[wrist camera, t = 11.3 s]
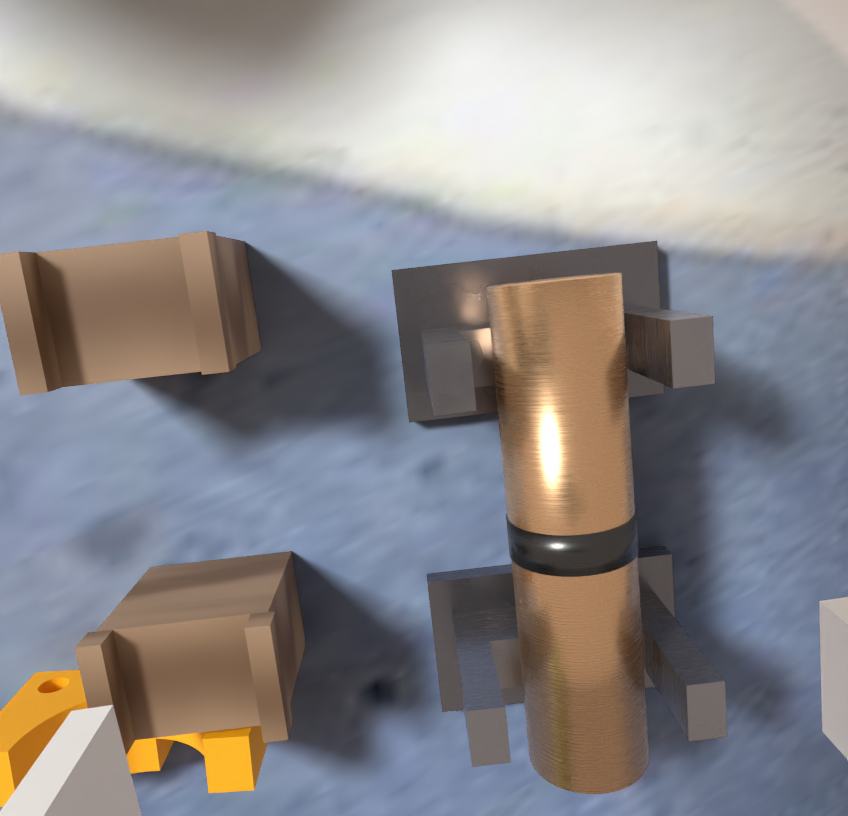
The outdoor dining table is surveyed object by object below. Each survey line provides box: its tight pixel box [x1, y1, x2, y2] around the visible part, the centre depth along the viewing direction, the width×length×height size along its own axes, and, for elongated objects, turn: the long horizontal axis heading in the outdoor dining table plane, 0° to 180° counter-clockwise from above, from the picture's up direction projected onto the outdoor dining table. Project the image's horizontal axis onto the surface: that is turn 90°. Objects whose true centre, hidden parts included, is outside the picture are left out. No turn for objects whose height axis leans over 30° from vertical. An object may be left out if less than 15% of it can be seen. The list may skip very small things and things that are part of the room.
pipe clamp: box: [0, 670, 268, 807], centre depth 34 cm, size 12×4×6 cm, turn 93°
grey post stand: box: [392, 241, 727, 767], centre depth 31 cm, size 22×12×9 cm, turn 6°
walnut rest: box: [0, 231, 306, 755], centre depth 31 cm, size 20×8×8 cm, turn 6°
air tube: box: [487, 273, 649, 794], centre depth 29 cm, size 20×5×5 cm, turn 6°
